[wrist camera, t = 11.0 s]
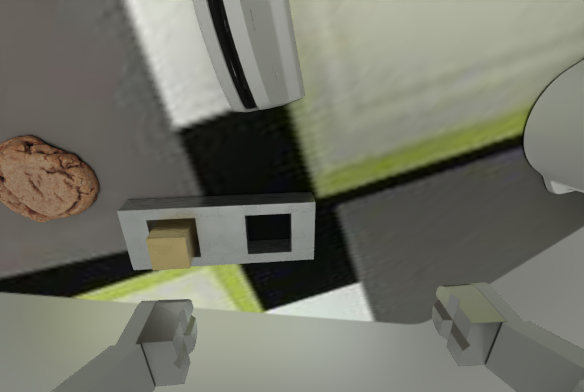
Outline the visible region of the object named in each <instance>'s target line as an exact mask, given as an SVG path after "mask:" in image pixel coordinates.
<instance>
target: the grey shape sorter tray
mask: <svg viewBox="0 0 584 392" xmlns="http://www.w3.org/2000/svg"><path fill="white" fill-rule="evenodd" d="M117 213H118V216H119V220H120V223H121V227H122V230H123V234H124V238H125V241H126V245H127V248H128V252H129V255H130V259H131V263H132V266H133V270H142V269H152V264H151V260H150V256H149V252H148V247H147V243H146V238H147V236H148V235H149V233H150V232H151V230H152V229H153V227H154V226H155V224H156V223H157V220H161V219H182V218H195V220H196V227H197V233H198V239H199V244H198V247H197V250H196V253H195V256H194V258H193V261H192V264H191V266H208V265H224V264H241V263H257V262H274V261H291V260H307V259H314V232H315V200H314V197H313V195H312V192H297V193H273V194H250V195H226V196H202V197H178V198H154V199H131V200H127V201H126V202H125V203H124V205H123V206H122V207H121V208H120V209H119V210H118V211H117ZM287 213H289V225H290V239H276V240H258V241H249V236H248V223H247V215H266V214H287Z"/></svg>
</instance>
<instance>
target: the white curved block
mask: <svg viewBox="0 0 584 392" xmlns="http://www.w3.org/2000/svg"><path fill="white" fill-rule="evenodd" d="M193 4H194V8H195V12H196V16H197V19H198V22H199V26H200V29H201V32H202V35H203V39H204V41H205V44H206V47H207V50H208V53H209V56H210V58H211V61H212V64H213V67H214V69H215V72H216V74H217V77H218V79H219V82H220V84H221V86H222V89H223V91H224V93H225V95H226V98H227V100H228V102H229V104H230V106H231V108H232V109H233V110H234V111H239V112H251V111H256V110H262V109H268V108H273V107H277V106H282V105H285V104H287V103H290V102H293V101H295V100H298V99H300V98H302V97H304V96H305V93H304V87H303V81H302V76H301V70H300V64H299V58H298V53H297V47H296V41H295V35H294V30H293V24H292V18H291V12H290V7H289V1H288V0H193Z"/></svg>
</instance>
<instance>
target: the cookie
mask: <svg viewBox="0 0 584 392" xmlns="http://www.w3.org/2000/svg"><path fill="white" fill-rule="evenodd" d="M98 190H99V183H98V180H97V177H96V175H95V174H94V171H93V170H92V169H91V167H90V166H88V165H86V164H85V163H84V162H82V161H80V160H78V157H77V156H76V155H74V154H67V152H66V151H62V150H58V149H57V148H53V147H51V146H49V145H46V144H44V142H43V141H42V140H40V139H38V138H36V137H34V136H30V135H26V136H23V137H15V138H13V139H10V140H7V141H4V142H2V143H1V144H0V198H1V199H0V200H1V202H2V203H4V204H5V205H6V206H7V207H9V208H10V209H11V210H13V211H14V212H17V213H20V214H21V215H23V216H25V217H29V218H30V219H32V220H36V221H37V222H45V221H49V220H51V219H58V218H64V217H69V216H71V215H75V214H79V213H81V212H82V211H84V210H85V209H87V208H88V207H90V206H91V205H92V202H94V201H95V200H96V199H97V195H96V194H97V192H98Z"/></svg>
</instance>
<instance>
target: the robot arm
mask: <svg viewBox="0 0 584 392" xmlns="http://www.w3.org/2000/svg"><path fill="white" fill-rule="evenodd" d="M524 150H525V154H526V157H527V159H528V161H529V163H530V164H531V166H532V167H533V168H534V169H535V170H536V171H538V172H539V173H540V174H541V175H542V176H543V178H544V182H545V185H546V188H547V190H548V191H549V192H552V193H555V194H563V193H567V192H572V191H576V190H577V191H580V192H583V193H584V60H582V61H581V62H579V63H578V64H576V65H574V66H573V67H571V68H570V69H568V70H567V71H565V72H564V73H563V74H561V75H560V76H559V77H558V78H557V79H555V80H554V81H553V82H552V83H551V84H550V85H549V87H548V88H547V89H546V90H545V91H544V92H543V94H542V95H541V96H540V98H539V99H538V101H537V102H536V104H535V106H534V108H533V109H532V112H531V114H530V116H529V118H528V121H527V124H526V128H525V133H524ZM436 296H437V297H438V299H439V300H438V301H437V302H436V303H435V304H434V305H433V310H432V317H433V322H434V325H435V328H436V330H437V331H438V333H439V335H441V336H442V337H444V338H445V339H446V340H448V341H447V348H448V350H449V352H450V353H451V355H452V357H453V358H454V360H455V361H456V363H457V365H458V366H472V365H486V367H487V368H488V369H489V370H490V371H492V372H493V373H494V374H495V375H496V376H498V377H499V378H500V379H501V380H503V381H504V382H505V383H506V384H508V385H509V386H510V387H511V388H513V389H514V390H515V391H516V392H584V349H582V348H580V347H579V346H577V345H575V344H573V343H571V342H569V341H567V340H565V339H563V338H561V337H559V336H557V335H556V334H554V333H552V332H550V331H548V330H546V329H544V328H542V327H540V326H538V325H536V324H534V323H532V322H530V321H524V320H523V319H522V318H521V317H520V316H519V315H518V314H517V313H516V312H515V311H514V310H513V309H512V307H510V305H509V304H508V303H507V302H506V301H505V300H504V299H503V298H502V297H501V296H500V295H499V294H498V293H497V292H496V291H495V290H494V289H493V288H492V287H491V286H490V285H489V284H487V283H472V284H458V285H442V286H439V288H438V289H437V292H436ZM192 311H193V305H192V301H191V300H190V299H182V300H158V301H142V302H141V303H139V304H138V306H137V308H136V309H135V311H134V313H133V315H132V317H131V318H130V320H129V322H128V324H127V326H126V327H125V329H124V331H123V333H122V335H121V336H120V338H119V340H118V342H117V344H116V345H114V346H109V347H108V348H107V349H106V350H104V351H103V352H102V353H100V354H99V355H98V356H96V357H95V358H94V359H93V360H91V361H90V362H89V363H87V364H86V365H85V366H84V367H82V368H81V369H79V370H78V371H77V372H75V373H74V374H73V375H72V376H70V377H69V378H68V379H67V380H65V381H64V382H63V383H61V384H60V385H59V386H57V387H56V388H55V389H53V390H52V391H51V392H153V390H154V389H155V387H156V386H166V385H177V384H184V383H185V380H186V376H187V373H188V369H189V365H190V359H189V354H190V353H191V352H192V351H193V350H194V347H195V343H196V337H197V323H196V318H195V317H193V316H192V315H191V314H192Z"/></svg>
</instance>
